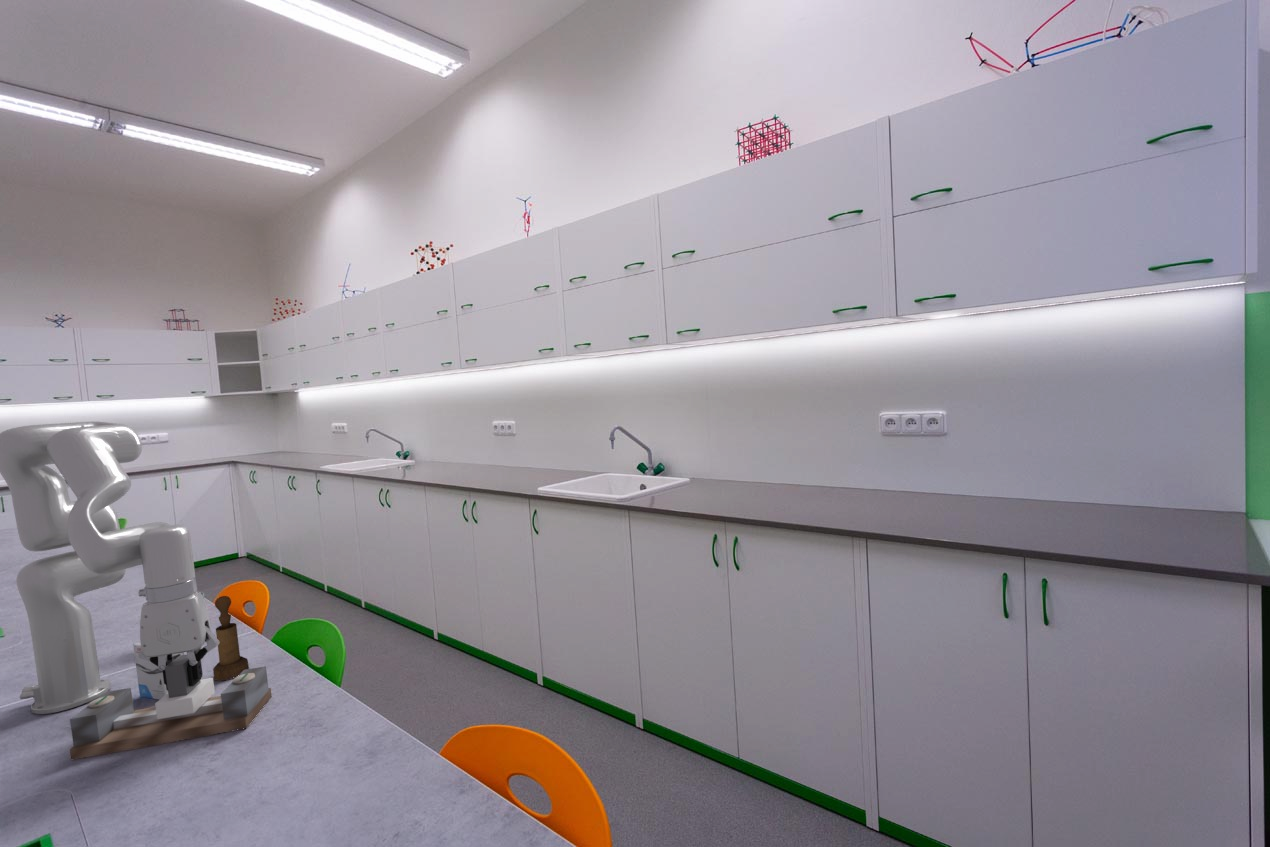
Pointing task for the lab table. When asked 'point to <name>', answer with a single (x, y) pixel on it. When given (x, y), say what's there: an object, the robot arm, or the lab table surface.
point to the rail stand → (124, 728)
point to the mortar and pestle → (227, 644)
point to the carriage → (182, 691)
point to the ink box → (150, 676)
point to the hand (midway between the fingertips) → (184, 684)
